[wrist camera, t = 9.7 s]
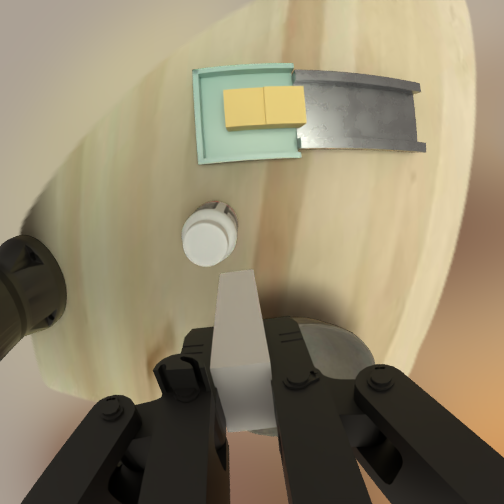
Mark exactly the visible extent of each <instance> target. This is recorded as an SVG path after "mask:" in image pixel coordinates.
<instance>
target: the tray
mask: <svg viewBox="0 0 504 504" xmlns="http://www.w3.org/2000/svg"><path fill="white" fill-rule="evenodd" d="M293 69H294V65H293V63H265V64H244V65H230V66H219V67H210V68H202V69H194V70H193V92H194V110H195V126H196V141H197V154H198V165H203V164H212V163H223V162H235V161H248V160H263V159H283V158H301V152H298V148H297V134H296V128H276V129H258V130H242V131H230V132H228V131H227V129H226V126H225V112H224V97H223V90H228V89H240V88H257V87H265V86H292V76H291V72H292V70H293Z"/></svg>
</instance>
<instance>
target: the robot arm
mask: <svg viewBox="0 0 504 504" xmlns="http://www.w3.org/2000/svg"><path fill="white" fill-rule="evenodd" d="M65 305H66V288H65V283H64V279H63V276H62V273H61V270H60V268H59V266H58V264H57V262H56V260H55V259H54V257H53V256H52V254H51V253H50V251H49V250H48V249H47V248H46V247H45V246H44V245H43V244H42V243H41V242H39V241H38V240H37V239H35V238H33V237H30V236H27V235H19V236H16V237H13V238H11V239H9V240H7V241H6V242H4V243H3V244H2V245H1V246H0V361H1V360H2V359H3V358H4V357H5V356H6V355H7V354H8V352H9V351H10V350H11V349H12V348H13V347H14V346H15V345H16V344H17V343H18V342H19V341H20V340H21V339H22V338H23V337H24V336H27V335H30V334H33V333H36V332H39V331H42V330H45V329H47V328H49V327H51V326H52V325H53V324H54V323H55V322H56V321H57V320H58V319H59V318H60V317H61V316H62V314H63V312H64V309H65ZM153 372H154V374H155V377H156V379H157V382H158V384H159V387H160V389H161V391H162V397H161V398H159V399H157V400H154V401H151V402H147V403H142V404H138V405H135V404H134V403H133V402H132V400H131V399H130V398H128V397H126V396H123V395H113V396H108V397H106V398H104V399H102V400H100V401H99V402H97V403H96V404H95V405H94V406H93V408H92V409H91V410H90V411H89V413H88V414H87V415H86V417H85V418H84V419H83V421H82V422H81V423H80V425H79V426H78V427H77V428H76V430H75V431H74V432H73V434H72V435H71V436H70V438H69V439H68V440H67V441H66V443H65V444H64V445H63V447H62V448H61V449H60V451H59V452H58V453H57V455H56V456H55V457H54V459H53V460H52V461H51V463H50V464H49V465H48V467H47V468H46V470H45V471H44V472H43V474H42V475H41V476H40V478H39V479H38V480H37V482H36V483H35V484H34V486H33V487H32V489H31V490H30V491H29V493H28V494H27V496H26V497H25V498H24V500H23V501H22V503H21V504H230V479H229V478H230V477H229V475H230V473H229V445H228V441H227V438H226V427H227V430H228V432H238V431H249V430H258V429H266V428H273V427H277V432H278V441H279V450H280V454H281V460H282V466H283V472H284V478H285V484H286V490H287V496H288V502H289V504H372V502H371V499H370V497H369V494H368V491H367V488H366V485H365V483H364V480H363V478H362V475H361V472H360V469H359V466H358V464H357V461H356V459H357V460H358V462H359V463H360V464H361V466H362V467H363V468H364V470H365V471H366V472H367V474H368V475H369V476H370V477H371V479H372V480H373V481H374V482H375V484H376V485H377V486H378V488H379V489H380V490H381V491H382V493H383V494H384V495H385V496H386V498H387V499H388V500H389V501H390V503H391V504H504V458H503V457H502V456H501V455H500V454H499V453H498V452H496V451H495V450H494V449H493V448H492V447H491V446H489V445H488V444H487V443H486V442H485V441H483V440H482V439H481V438H480V437H479V436H477V435H476V434H475V433H474V432H473V431H472V430H470V429H469V428H468V427H467V426H466V425H464V424H463V423H462V422H461V421H460V420H459V419H457V418H456V417H455V416H454V415H453V414H451V413H450V412H449V411H448V410H447V409H445V408H444V407H443V406H442V405H441V404H439V403H438V402H437V401H436V400H435V399H434V398H432V397H431V396H430V395H429V394H428V393H426V392H425V391H424V390H423V389H422V388H420V387H419V386H418V385H417V384H415V382H413V381H412V380H411V379H410V378H409V377H407V376H406V375H405V374H404V373H403V372H401V371H400V370H398V369H397V368H395V367H393V366H389V365H385V364H376V365H372V366H368V367H366V368H364V369H363V370H361V371H360V372H359V373H358V375H357V376H356V379H334V378H330V377H327V376H325V375H323V374H322V373H321V371H320V370H319V369H317V368H315V366H314V364H313V362H312V359H311V356H310V354H309V351H308V349H307V346H306V343H305V341H304V339H303V336H302V333H301V330H300V328H299V325H298V323H297V322H296V321H295V320H294V319H292V318H291V317H290V316H286V317H279V318H272V319H265V320H262V314H261V309H260V303H259V298H258V293H257V287H256V282H255V276H254V271H253V269H249V270H242V271H234V272H226V273H220V276H219V285H218V294H217V303H216V312H215V322H214V327H207V328H197V329H192V330H191V331H190V332H189V333H188V334H187V335H186V337H185V339H184V343H183V348H182V351H181V354H176V355H171V356H169V357H167V358H164V359H163V360H161V361H160V362H159V363H158V364H157V365H156V366H155V368H154V369H153Z"/></svg>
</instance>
